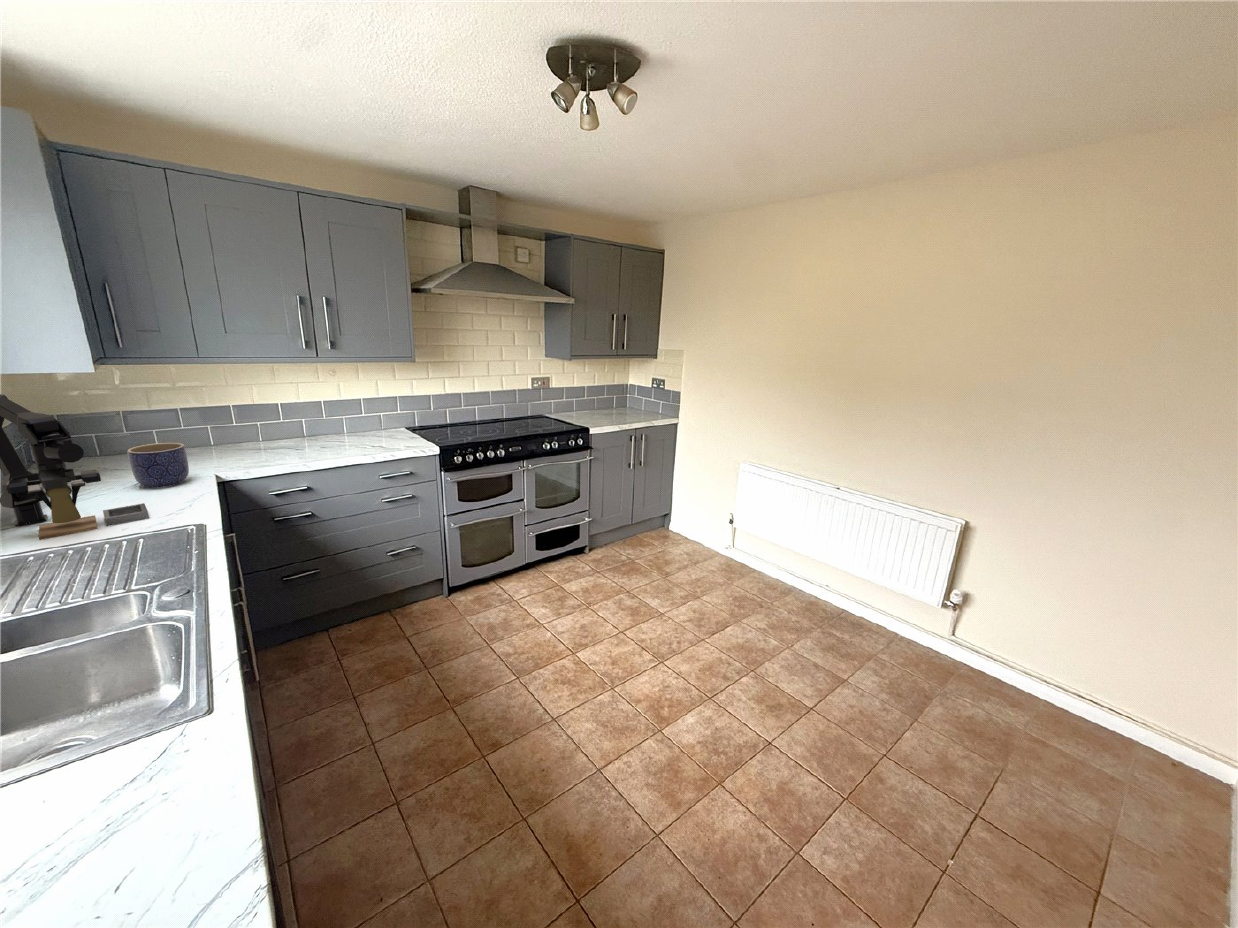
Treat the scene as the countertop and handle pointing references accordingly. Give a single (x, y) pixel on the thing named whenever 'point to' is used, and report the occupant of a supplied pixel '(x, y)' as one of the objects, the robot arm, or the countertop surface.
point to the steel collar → (125, 514)
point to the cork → (62, 505)
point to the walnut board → (67, 527)
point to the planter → (159, 464)
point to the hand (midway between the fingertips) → (63, 507)
